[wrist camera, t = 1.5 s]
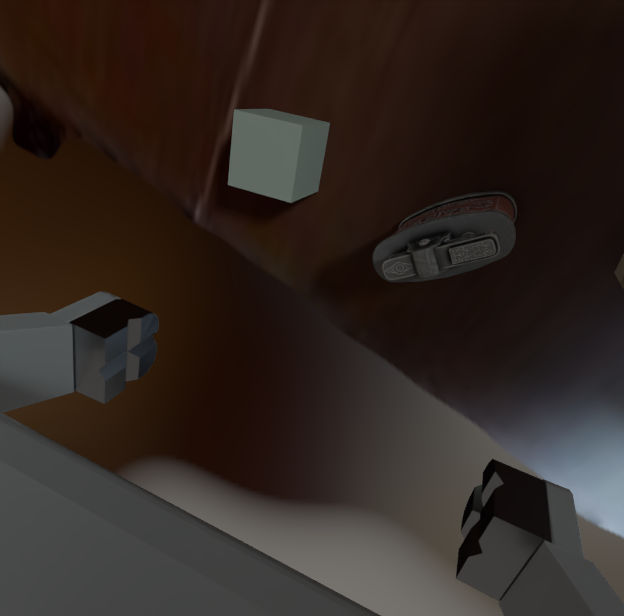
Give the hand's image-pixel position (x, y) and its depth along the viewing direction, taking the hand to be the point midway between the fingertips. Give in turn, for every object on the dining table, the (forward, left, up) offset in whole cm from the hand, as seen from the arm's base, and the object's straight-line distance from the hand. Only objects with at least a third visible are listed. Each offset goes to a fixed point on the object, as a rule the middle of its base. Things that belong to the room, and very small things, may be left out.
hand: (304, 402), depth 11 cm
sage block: (+12, -1, -26) cm, 29 cm away
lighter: (-1, +1, -26) cm, 26 cm away
